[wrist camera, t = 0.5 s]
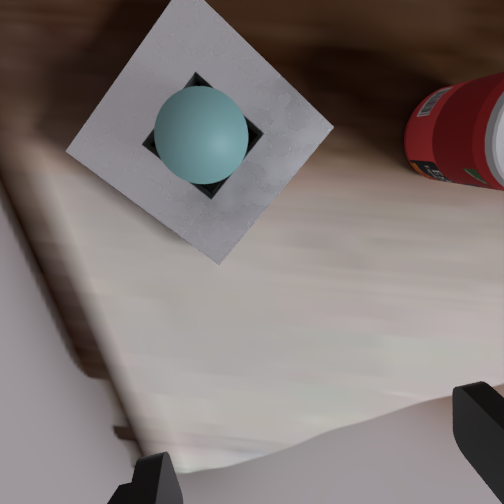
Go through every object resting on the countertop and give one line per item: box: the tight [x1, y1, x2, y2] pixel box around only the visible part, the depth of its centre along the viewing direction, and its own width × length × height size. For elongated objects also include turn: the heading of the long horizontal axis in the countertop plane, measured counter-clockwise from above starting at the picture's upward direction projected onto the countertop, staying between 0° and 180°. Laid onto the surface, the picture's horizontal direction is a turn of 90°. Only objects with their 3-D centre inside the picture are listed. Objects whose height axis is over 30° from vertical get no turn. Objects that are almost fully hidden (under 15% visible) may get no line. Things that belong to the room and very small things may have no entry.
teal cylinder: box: [154, 86, 248, 184], centre depth 25 cm, size 5×5×10 cm
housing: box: [66, 0, 334, 265], centre depth 28 cm, size 14×14×4 cm
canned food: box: [404, 72, 504, 191], centre depth 27 cm, size 8×8×11 cm
